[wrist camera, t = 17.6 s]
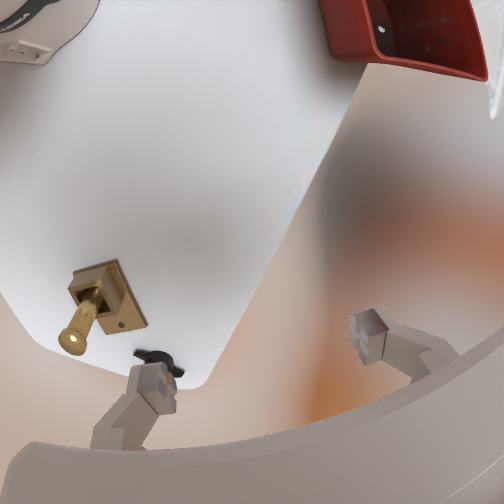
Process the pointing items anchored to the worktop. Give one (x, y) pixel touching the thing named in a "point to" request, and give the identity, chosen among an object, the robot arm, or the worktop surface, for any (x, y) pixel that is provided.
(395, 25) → the plant pot
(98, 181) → the worktop surface
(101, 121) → the worktop surface
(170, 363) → the black ring with tabs
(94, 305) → the hinge pin
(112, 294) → the brass socket plate
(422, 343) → the robot arm
